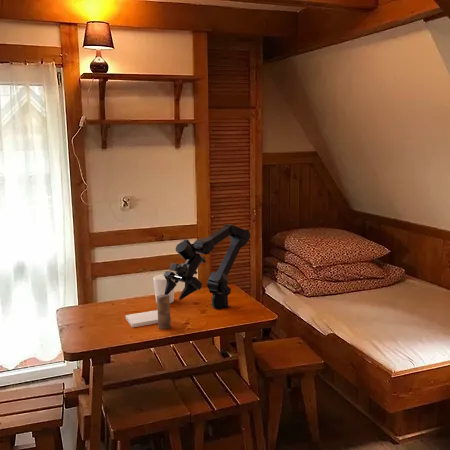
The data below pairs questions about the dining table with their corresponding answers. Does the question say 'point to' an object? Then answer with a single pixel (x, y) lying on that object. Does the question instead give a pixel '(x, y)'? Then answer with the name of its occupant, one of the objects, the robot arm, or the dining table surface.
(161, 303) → the walnut roller
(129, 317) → the stone slab
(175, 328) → the dining table surface
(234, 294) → the dining table surface
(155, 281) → the white cylinder
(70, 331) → the dining table surface
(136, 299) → the dining table surface
